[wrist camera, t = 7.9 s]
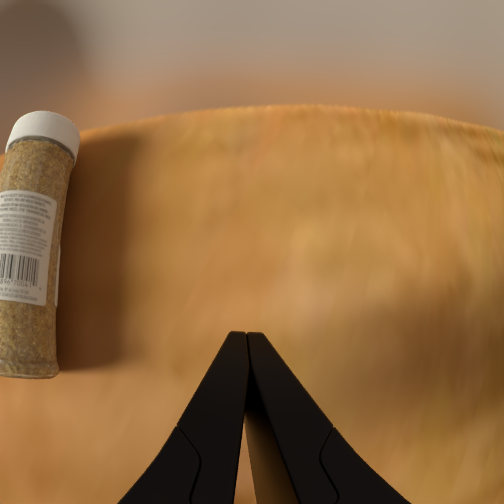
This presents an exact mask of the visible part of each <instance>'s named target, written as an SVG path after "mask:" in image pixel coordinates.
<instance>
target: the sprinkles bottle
mask: <svg viewBox="0 0 504 504" xmlns="http://www.w3.org/2000/svg"><path fill="white" fill-rule="evenodd" d="M79 144H80V133H79V131H78V129H77V127H76V126H75V124H74V123H73V122H71V121H70V120H69V119H68V118H66V117H64V116H62V115H60V114H58V113H54V112H48V111H36V112H31V113H28V114H26V115H24V116H22V117H21V118H20V119H19V120H18V121H17V122H16V123H15V125H14V127H13V130H12V133H11V135H10V137H9V140H8V143H7V146H6V153H5V162H4V165H3V168H2V171H1V175H0V376H3V377H10V378H24V379H50V378H53V377H55V376H56V375H57V374H58V373H59V365H58V363H57V357H56V309H57V304H58V281H59V265H60V253H61V251H60V241H61V232H62V224H63V217H64V209H65V202H66V196H67V190H68V184H69V177H70V173H71V171H72V169H73V167H74V165H75V163H76V160H77V155H78V150H79Z"/></svg>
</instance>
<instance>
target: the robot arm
mask: <svg viewBox="0 0 504 504" xmlns="http://www.w3.org/2000/svg"><path fill="white" fill-rule="evenodd" d="M243 423H245V430H246V437H247V443H248V450H249V457H250V463H251V470H252V476H253V482H254V489H255V495H256V501H257V504H411V503H410V502H409V501H407V500H406V499H405V498H404V497H403V496H401V495H400V494H399V493H398V492H397V491H396V490H395V489H394V488H393V487H391V486H390V485H389V484H388V483H387V482H386V481H385V480H384V479H383V478H382V477H381V476H379V475H378V474H377V473H376V472H375V471H374V470H373V469H372V468H371V467H370V466H369V465H368V464H367V463H366V462H365V461H364V460H363V459H362V458H361V457H360V456H359V455H358V454H357V453H356V452H355V451H354V450H353V448H352V447H351V446H350V445H349V444H348V443H347V441H346V440H345V439H344V438H343V437H342V435H341V434H340V433H339V432H338V430H337V429H336V428H335V427H333V424H332V423H331V422H330V420H329V419H328V418H327V416H326V415H325V414H324V413H323V411H322V410H321V409H320V408H319V406H318V405H317V404H316V402H315V401H314V400H313V399H312V397H311V396H310V395H309V393H308V392H307V391H306V389H305V388H304V387H303V386H302V384H301V383H300V382H299V380H298V379H297V378H296V376H295V375H294V374H293V372H292V371H291V370H290V368H289V367H288V366H287V364H286V363H285V362H284V360H283V359H282V358H281V356H280V355H279V354H278V352H277V351H276V350H275V348H274V347H273V346H272V344H271V343H270V342H269V340H268V339H267V338H266V336H265V335H264V334H263V333H261V332H248V333H247V334H246V333H245V332H241V331H231V332H229V334H228V335H227V337H226V339H225V341H224V343H223V344H222V346H221V348H220V350H219V351H218V353H217V355H216V357H215V358H214V360H213V362H212V364H211V365H210V367H209V369H208V371H207V372H206V374H205V376H204V378H203V379H202V381H201V383H200V385H199V386H198V388H197V390H196V392H195V393H194V395H193V397H192V399H191V400H190V402H189V404H188V406H187V407H186V409H185V411H184V412H183V414H182V416H181V418H180V419H179V421H178V423H177V426H176V427H175V428H174V429H173V431H172V433H171V434H170V436H169V438H168V439H167V441H166V442H165V444H164V446H163V447H162V449H161V450H160V452H159V453H158V455H157V456H156V458H155V459H154V460H153V461H152V463H151V464H150V465H149V467H148V468H147V469H146V471H145V472H144V473H143V474H142V475H141V477H140V478H139V479H138V480H137V481H136V483H135V484H134V485H133V486H132V487H131V488H130V490H129V491H128V492H127V493H126V494H125V495H124V496H123V498H122V499H121V500H120V501H119V502H118V503H117V504H234V496H235V488H236V480H237V472H238V464H239V456H240V448H241V440H242V432H243Z"/></svg>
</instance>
